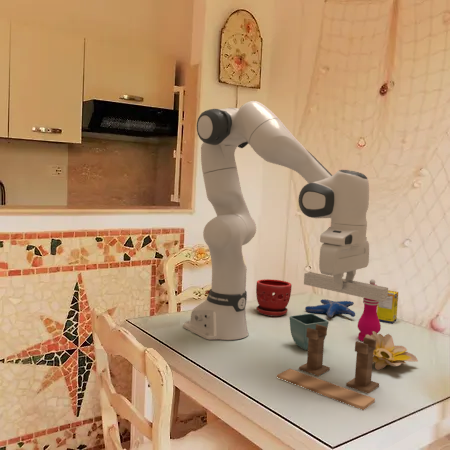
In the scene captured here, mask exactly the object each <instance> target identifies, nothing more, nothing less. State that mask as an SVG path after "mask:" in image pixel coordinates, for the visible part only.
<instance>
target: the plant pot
mask: <svg viewBox="0 0 450 450" xmlns="http://www.w3.org/2000/svg"><path fill="white" fill-rule="evenodd" d="M292 285H293V284H292V283H290V281H289V282H288V281H285V280H279V279H269V278H267V279H265V278H264V279H259V280H257V281H256V286H255V287H256V288H255V290H256V291H255V294H256V296H255V297H256V300H257V303H258V305H257V306H256V309H257V312H258V313H259V314H261V315H264V316H268V317H278V316H279V317H281V316H283V315H286V314H287V313H288V308H287V306H288V305H289V302H290V299H291V294H292Z"/></svg>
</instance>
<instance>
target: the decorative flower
mask: <svg viewBox="0 0 450 450" xmlns="http://www.w3.org/2000/svg"><path fill="white" fill-rule="evenodd" d="M366 337H367V338H371V339H374V340H376V349H375V350H374V351H373V363H374V368H375V369H376V370H377V371H379V370H382V369H384V368H385V367H386V366H390V367H399V366H401V364H403V365H405V364H407V362H412V363H413V362H417V363H418V362H419V360H418V358H417V357H416V355H414V354H413V353H410V352H409V351H408V349H407V347H405V346H403V345H395V342H394V339H393V336H392V335H391V334H389V333H388V334H387V333H386V335H384V336H383V334H382V333H376V332H374V331H373V335H371V336H370V335H366Z"/></svg>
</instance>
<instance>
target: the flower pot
mask: <svg viewBox="0 0 450 450" xmlns="http://www.w3.org/2000/svg"><path fill="white" fill-rule="evenodd" d="M288 317H289V328H290V334H291V337H292V340H293V342H294V343H295V346H297V347H299V348H301V349H303V350H305V351H308V341H309V338H308V337H306V335H307V328H311V329H315V330H316V325H317V324H318V325H322V326H326V327H327V329H328V328H329V327H328V326H329V320H327V319H325V318H322V317H320V316H318V315H316V314H315V313H304V314H298V315H290V316H288ZM326 336H327V335H326ZM326 336H324V340H325V339H326V338H327V337H326Z"/></svg>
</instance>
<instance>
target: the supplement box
mask: <svg viewBox="0 0 450 450" xmlns="http://www.w3.org/2000/svg"><path fill="white" fill-rule="evenodd" d="M398 304H399V291H397V290H396V291H395V290H389V289H388V296H387V300H385V301H383V302H381V301H379V304H378V305H377V316H378V319H379V321H380V322H383V323H389V324H394V323H395V322H394V321H396V320H397V317H398V315H397V314H398V306H399V305H398Z"/></svg>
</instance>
